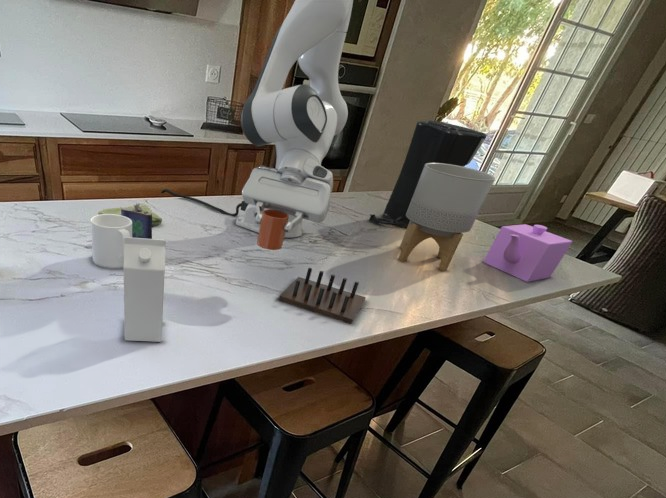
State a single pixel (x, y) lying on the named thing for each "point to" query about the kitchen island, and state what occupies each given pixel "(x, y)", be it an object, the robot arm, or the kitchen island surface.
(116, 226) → the mug
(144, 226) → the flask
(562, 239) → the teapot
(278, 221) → the cup
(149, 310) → the milk carton
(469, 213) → the planter
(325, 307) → the rack
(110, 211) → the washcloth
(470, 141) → the coffee maker
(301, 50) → the robot arm
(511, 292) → the kitchen island surface
